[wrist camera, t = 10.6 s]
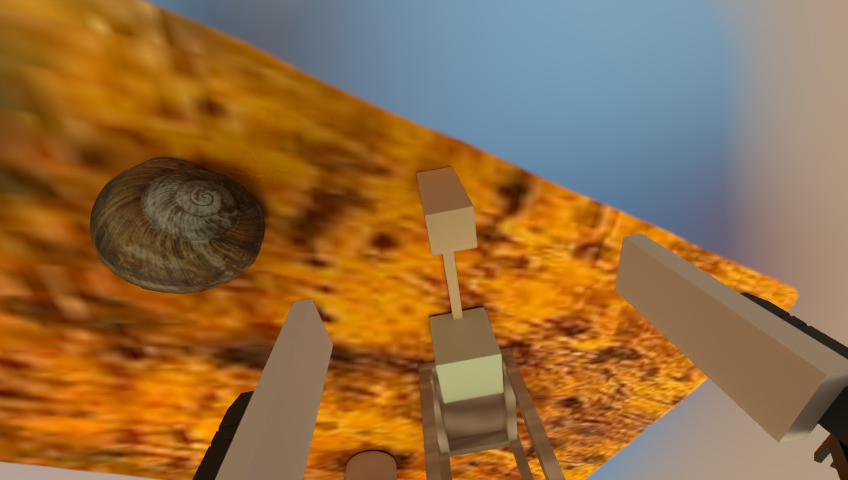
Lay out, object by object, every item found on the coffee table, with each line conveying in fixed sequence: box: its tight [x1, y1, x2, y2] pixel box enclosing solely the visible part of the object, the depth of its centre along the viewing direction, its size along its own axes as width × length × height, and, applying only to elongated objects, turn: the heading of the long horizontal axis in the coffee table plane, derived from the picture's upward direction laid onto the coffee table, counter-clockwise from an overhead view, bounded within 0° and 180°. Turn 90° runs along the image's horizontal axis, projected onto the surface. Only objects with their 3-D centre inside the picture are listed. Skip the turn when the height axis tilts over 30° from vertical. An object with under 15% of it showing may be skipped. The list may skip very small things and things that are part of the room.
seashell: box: [90, 158, 265, 294], centre depth 22 cm, size 11×9×8 cm
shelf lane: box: [418, 347, 565, 480], centre depth 33 cm, size 16×11×15 cm
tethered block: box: [416, 166, 503, 403], centre depth 27 cm, size 22×6×8 cm, turn 10°
